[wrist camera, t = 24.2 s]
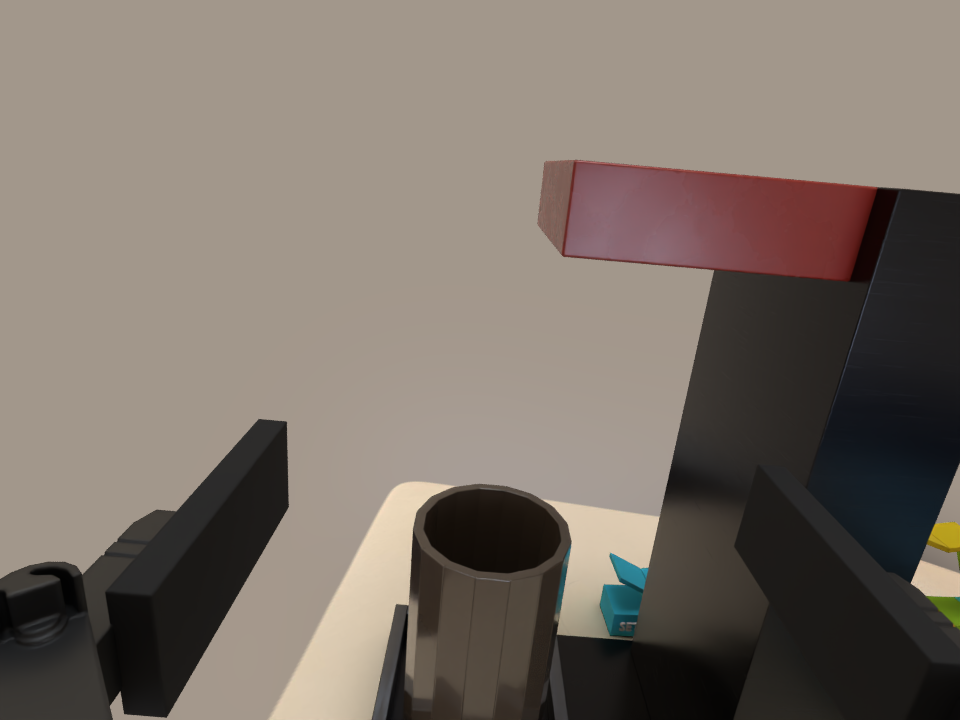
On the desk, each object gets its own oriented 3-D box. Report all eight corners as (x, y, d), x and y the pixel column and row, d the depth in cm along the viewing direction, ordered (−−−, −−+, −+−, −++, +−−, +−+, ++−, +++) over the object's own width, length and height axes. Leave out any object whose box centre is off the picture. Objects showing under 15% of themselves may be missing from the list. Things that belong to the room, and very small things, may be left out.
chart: (610, 638, 40) (650, 448, 35) (599, 604, 43) (634, 425, 38) (1013, 650, 42) (1103, 473, 37) (975, 617, 45) (1054, 449, 40)
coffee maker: (348, 866, 26) (357, 138, 16) (394, 633, 39) (416, 150, 29) (799, 899, 26) (1094, 205, 16) (697, 656, 39) (825, 186, 29)
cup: (393, 785, 28) (403, 572, 24) (412, 660, 36) (423, 478, 31) (544, 797, 29) (581, 586, 24) (533, 669, 36) (560, 490, 31)
